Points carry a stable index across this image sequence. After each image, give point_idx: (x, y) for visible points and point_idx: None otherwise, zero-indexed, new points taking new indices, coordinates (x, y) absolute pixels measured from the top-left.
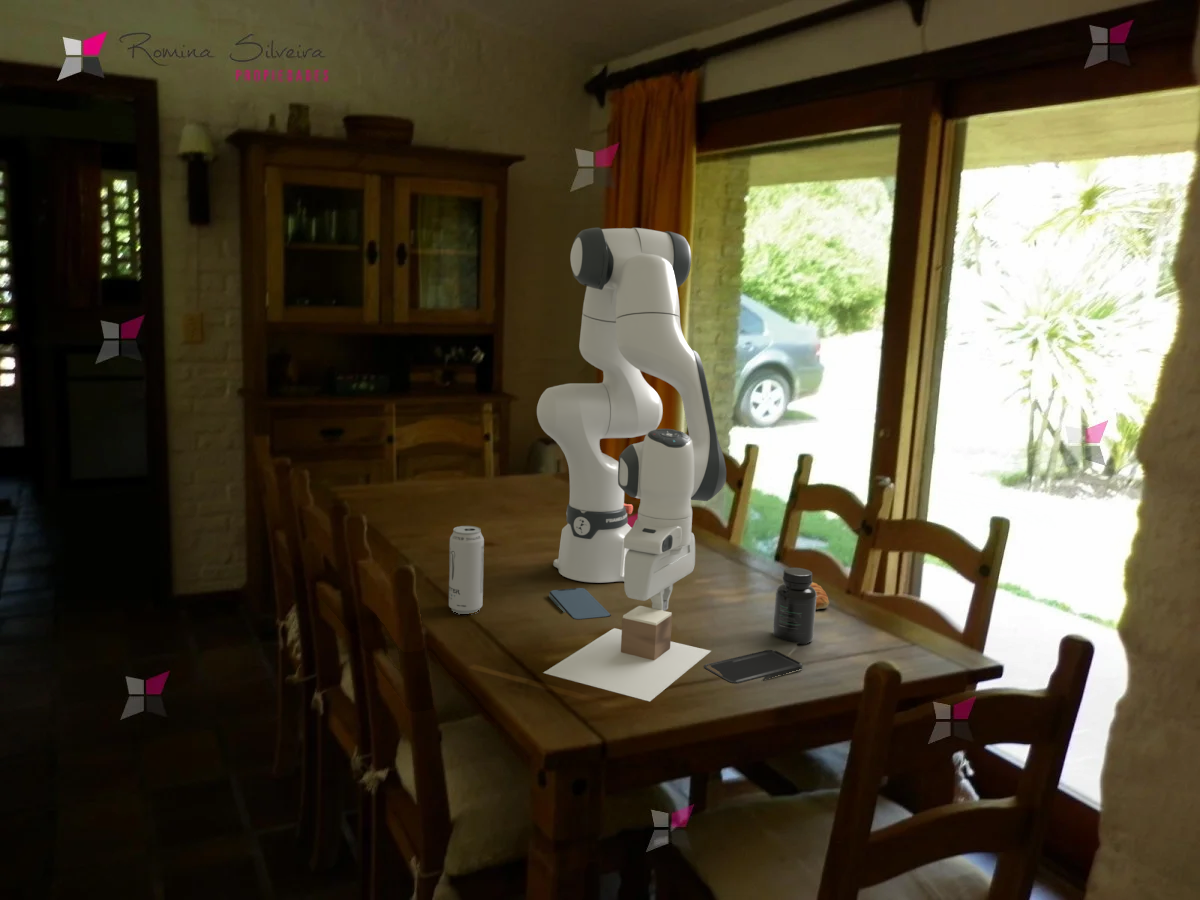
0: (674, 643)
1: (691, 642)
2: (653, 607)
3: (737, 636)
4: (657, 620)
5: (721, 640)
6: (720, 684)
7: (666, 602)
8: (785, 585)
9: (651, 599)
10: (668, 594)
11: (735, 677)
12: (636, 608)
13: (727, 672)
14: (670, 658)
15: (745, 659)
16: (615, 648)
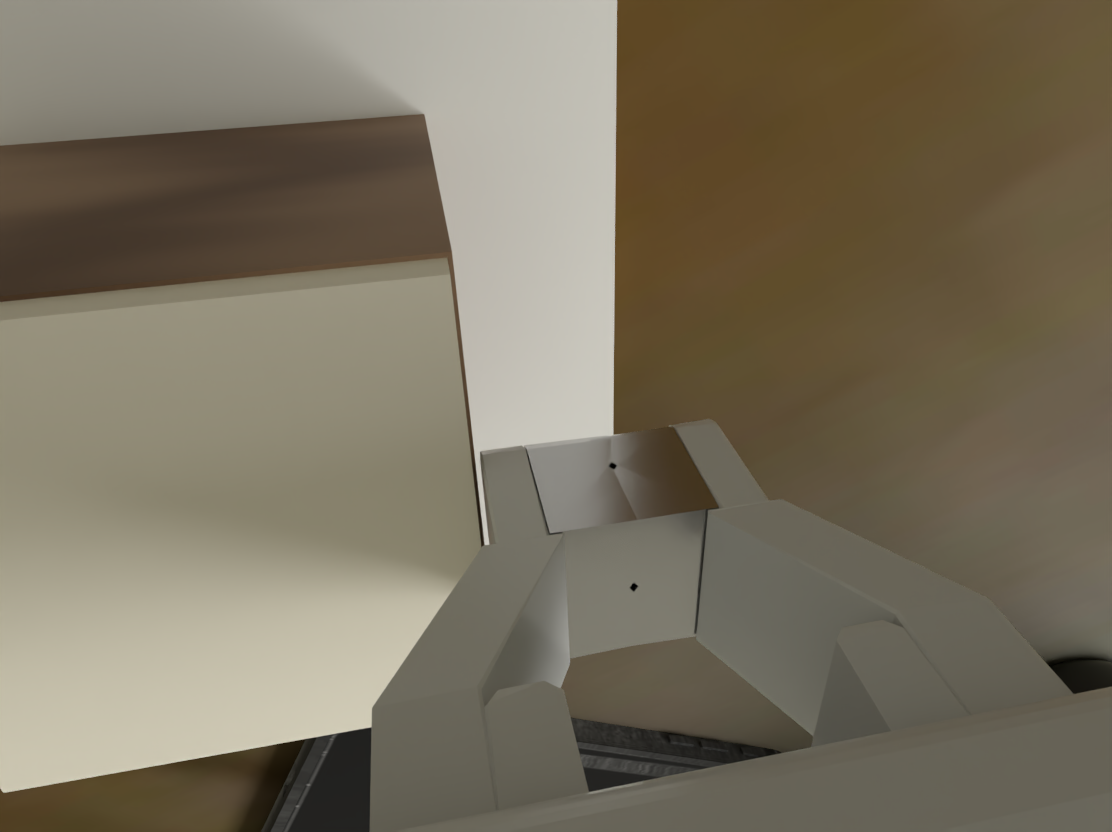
0: (587, 407)
1: (743, 428)
2: (487, 508)
3: (975, 562)
4: (97, 760)
5: (871, 536)
6: (235, 816)
7: (670, 623)
8: None
9: (455, 599)
10: (775, 700)
11: None
12: (266, 324)
13: (365, 805)
14: None
15: (605, 769)
16: (28, 27)
